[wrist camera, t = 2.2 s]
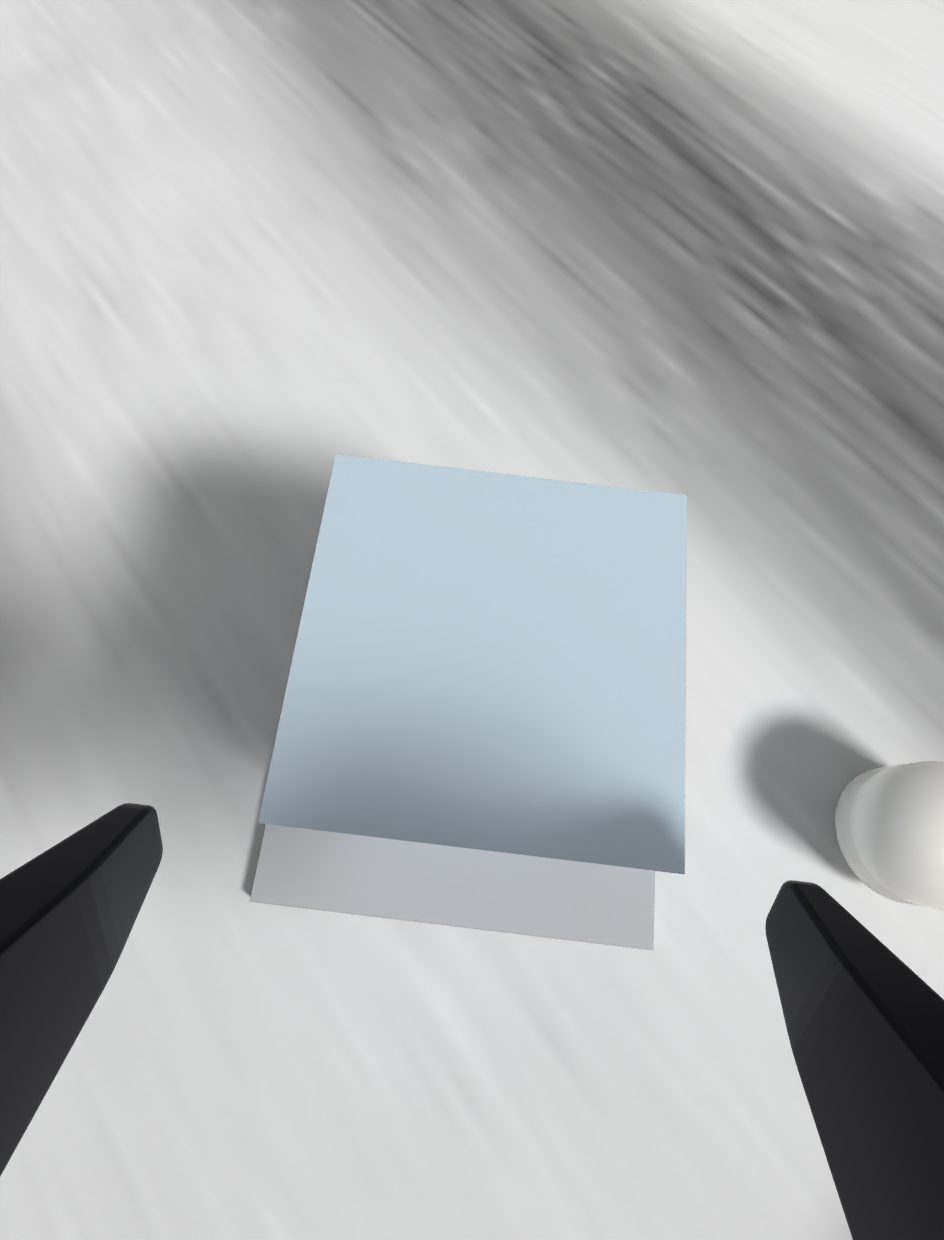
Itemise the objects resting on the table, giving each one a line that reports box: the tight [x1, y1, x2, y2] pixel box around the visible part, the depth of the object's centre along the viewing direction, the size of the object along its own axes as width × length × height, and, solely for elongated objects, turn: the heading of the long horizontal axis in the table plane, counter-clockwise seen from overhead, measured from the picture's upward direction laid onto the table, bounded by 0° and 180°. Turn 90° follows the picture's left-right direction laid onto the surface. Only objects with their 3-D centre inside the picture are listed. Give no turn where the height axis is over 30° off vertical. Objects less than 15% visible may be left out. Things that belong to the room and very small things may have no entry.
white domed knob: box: [835, 761, 944, 910], centre depth 19 cm, size 4×4×3 cm
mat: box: [250, 824, 655, 950], centre depth 20 cm, size 12×12×1 cm
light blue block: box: [258, 454, 687, 874], centre depth 16 cm, size 7×7×10 cm
